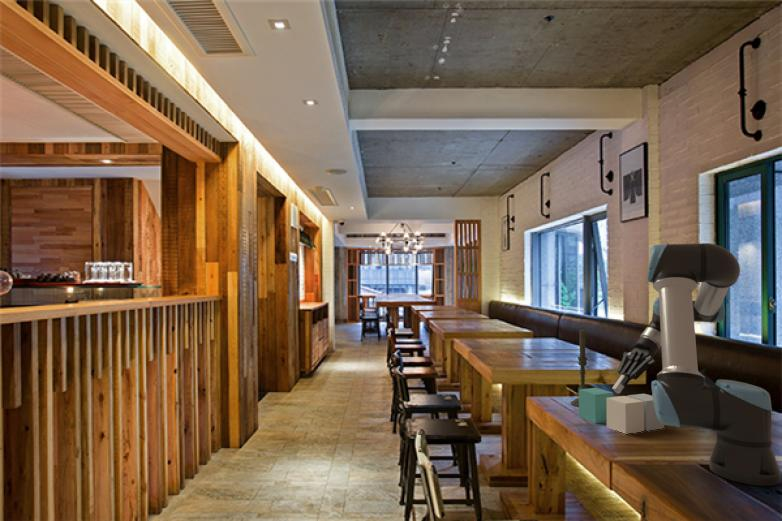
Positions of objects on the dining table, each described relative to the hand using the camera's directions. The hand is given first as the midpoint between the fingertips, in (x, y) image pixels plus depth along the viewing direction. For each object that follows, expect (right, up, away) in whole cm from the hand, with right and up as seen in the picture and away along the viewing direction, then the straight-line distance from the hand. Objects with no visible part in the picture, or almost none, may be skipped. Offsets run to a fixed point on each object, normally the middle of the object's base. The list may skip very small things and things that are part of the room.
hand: (615, 391), depth 184 cm
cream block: (-4, -9, -17) cm, 19 cm away
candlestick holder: (-6, -10, +15) cm, 19 cm away
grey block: (+4, -9, -13) cm, 16 cm away
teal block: (-9, -9, -4) cm, 13 cm away
